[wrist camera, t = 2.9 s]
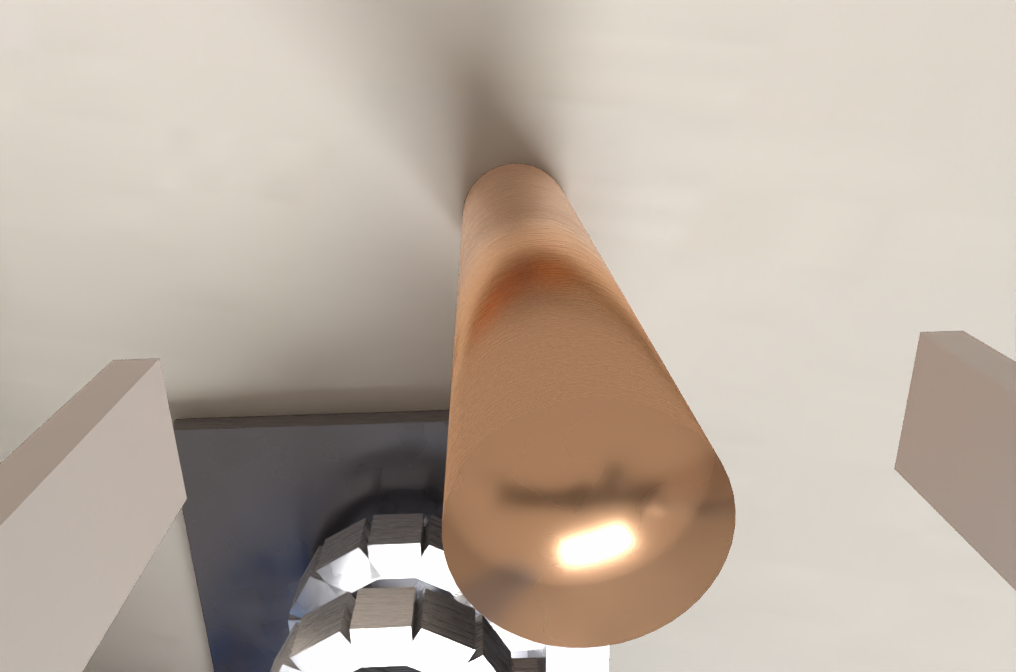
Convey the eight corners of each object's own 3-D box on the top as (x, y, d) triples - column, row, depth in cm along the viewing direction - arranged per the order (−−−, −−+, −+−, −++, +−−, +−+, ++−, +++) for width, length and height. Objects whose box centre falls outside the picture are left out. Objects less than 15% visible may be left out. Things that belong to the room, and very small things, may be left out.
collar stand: (614, 404, 32) (675, 564, 22) (603, 699, 38) (648, 928, 28) (176, 419, 32) (41, 589, 22) (232, 715, 37) (146, 956, 27)
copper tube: (569, 162, 28) (748, 394, 10) (568, 266, 30) (722, 641, 11) (460, 164, 28) (434, 403, 10) (464, 269, 30) (448, 653, 11)
